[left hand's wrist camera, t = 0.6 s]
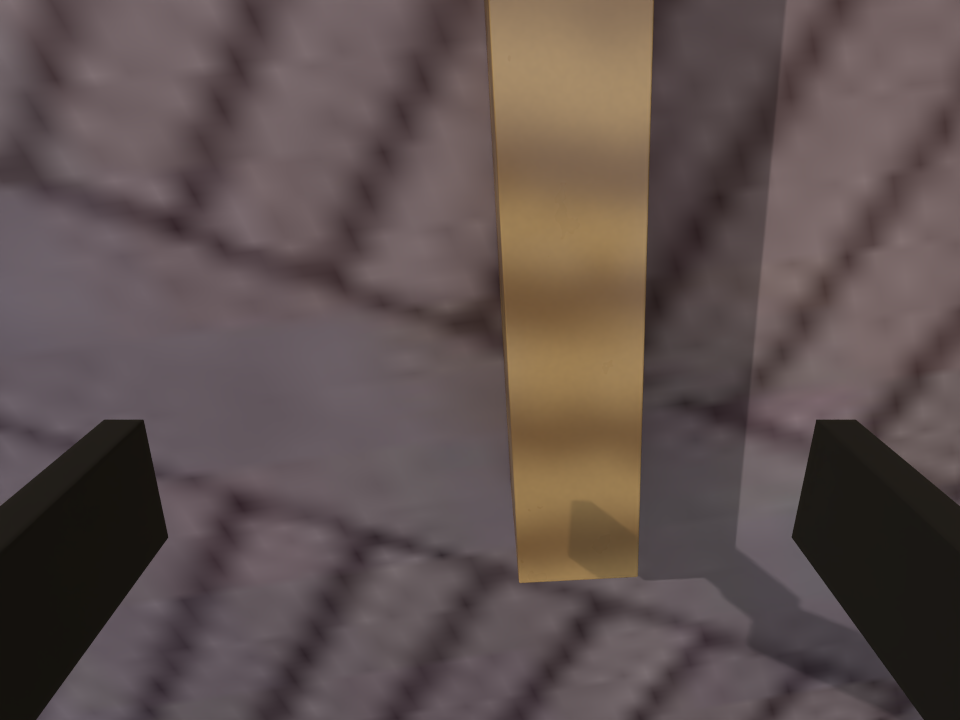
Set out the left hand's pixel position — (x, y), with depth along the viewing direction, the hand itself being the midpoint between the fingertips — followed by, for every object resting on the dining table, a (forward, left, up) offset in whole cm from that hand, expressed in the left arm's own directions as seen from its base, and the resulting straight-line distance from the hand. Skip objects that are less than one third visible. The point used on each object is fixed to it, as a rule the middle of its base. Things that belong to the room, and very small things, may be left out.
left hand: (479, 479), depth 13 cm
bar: (+22, +1, -19) cm, 29 cm away
